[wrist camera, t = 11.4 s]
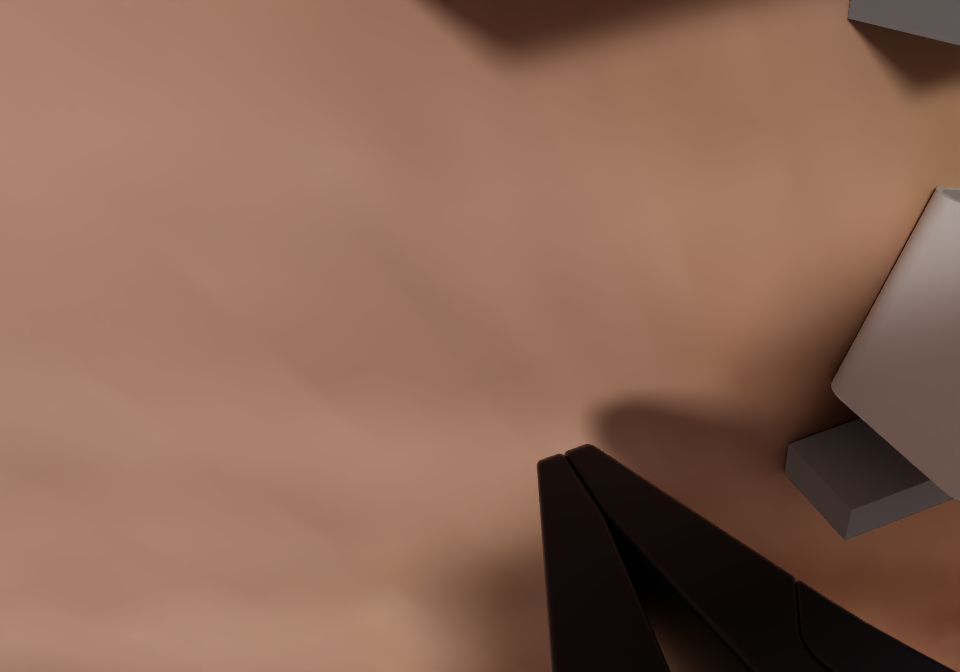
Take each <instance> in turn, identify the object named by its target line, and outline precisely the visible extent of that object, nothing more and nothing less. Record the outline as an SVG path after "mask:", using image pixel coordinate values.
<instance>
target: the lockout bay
mask: <svg viewBox="0 0 960 672" xmlns="http://www.w3.org/2000/svg"><path fill="white" fill-rule="evenodd" d="M848 19H852V20H857V21H861V22H865V23H869V24H873V25H877V26H881V27H885V28H890V29H894V30H898V31H902V32H906V33H910V34H914V35H918V36H923V37H927V38H931V39H935V40H939V41H943V42H947V43H952V44H956V45H960V0H850V7H849V14H848ZM785 475H786V476H787V477H788V478H789V479H790V480H791V481H792V483H793V484H794V485H795V486H796V487H797V488H798V489H799V490H800V491H801V493H802V494H803V495H804V496H805V497H806V498H807V499H808V500H809V501H810V503H811V504H812V505H813V506H814V507H815V508H816V509H817V510H818V511H819V512H820V514H821V515H822V516H823V517H824V518H825V519H826V520H827V521H828V522H829V524H830V525H831V526H832V527H833V528H834V529H835V530H836V531H837V532H838V534H839V535H840V536H841V537H842V538H843V539H844V540H847V539H849V538H852V537H854V536H857V535H860V534H862V533H865V532H867V531H870V530H873V529H875V528H878V527H880V526H883V525H886V524H888V523H891V522H893V521H896V520H899V519H901V518H904V517H906V516H909V515H912V514H914V513H917V512H919V511H922V510H924V509H927V508H930V507H932V506H935V505H937V504H940V503H943V502H945V501H948V500H950V499H953V498H952V497H951V496H949V495H948V494H947V493H945V492H944V491H943V490H941V489H940V488H939V487H938V486H937V485H936V484H935V483H934V482H932V481H931V480H930V479H929V478H928V477H927V476H926V475H925V474H923V473H922V472H921V471H920V470H919V469H918V468H917V467H915V466H914V465H913V464H912V463H911V462H910V461H909V460H908V459H906V458H905V457H904V456H903V455H902V454H901V453H900V452H899V451H897V450H896V449H895V448H894V447H893V446H892V445H891V444H889V443H888V442H887V441H886V440H885V439H884V438H883V437H882V436H880V435H879V434H878V433H877V432H876V431H875V430H874V429H873V428H871V427H870V426H869V425H868V424H867V423H866V422H865V421H863V420H862V419H861V418H859V419H856V420H854V421H851V422H848V423H845V424H843V425H840V426H837V427H834V428H832V429H829V430H826V431H823V432H820V433H818V434H815V435H812V436H809V437H807V438H804V439H801V440H798V441H796V442H793V443H790V444H789V445H788V452H787V459H786V466H785Z"/></svg>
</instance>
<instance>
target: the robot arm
mask: <svg viewBox="0 0 960 672" xmlns="http://www.w3.org/2000/svg"><path fill="white" fill-rule="evenodd" d="M537 474H538V488H539V502H540V516H541V529H542V543H543V557H544V571H545V585H546V598H547V612H548V626H549V640H550V653H551V667H552V672H956V671H954V670H952V669H950V668H949V667H947V666H945V665H943V664H941V663H939V662H937V661H935V660H934V659H932V658H930V657H928V656H926V655H924V654H922V653H920V652H919V651H917V650H915V649H913V648H911V647H909V646H908V645H906V644H904V643H902V642H900V641H899V640H897V639H895V638H893V637H891V636H890V635H888V634H886V633H884V632H882V631H881V630H879V629H877V628H875V627H874V626H872V625H870V624H868V623H866V622H865V621H863V620H862V619H860V618H858V617H857V616H855V615H853V614H852V613H850V612H849V611H847V610H845V609H844V608H842V607H841V606H839V605H837V604H836V603H834V602H833V601H831V600H829V599H828V598H826V597H825V596H823V595H822V594H820V593H818V592H817V591H815V590H814V589H812V588H811V587H809V586H808V585H806V584H805V583H803V582H802V581H799V580H798V581H796V583H795V578H794V576H792V575H791V574H789V573H788V572H786V571H785V570H783V569H782V568H780V567H779V566H777V565H775V564H774V563H772V562H771V561H769V560H768V559H766V558H765V557H763V556H762V555H760V554H759V553H757V552H756V551H754V550H753V549H751V548H749V547H748V546H746V545H745V544H743V543H742V542H740V541H739V540H737V539H736V538H734V537H733V536H731V535H730V534H728V533H727V532H725V531H723V530H722V529H720V528H719V527H717V526H716V525H714V524H713V523H711V522H710V521H708V520H707V519H705V518H704V517H702V516H701V515H699V514H698V513H696V512H694V511H693V510H691V509H690V508H688V507H687V506H685V505H684V504H682V503H681V502H679V501H678V500H676V499H675V498H673V497H672V496H670V495H668V494H667V493H665V492H664V491H662V490H661V489H659V488H658V487H656V486H655V485H653V484H652V483H650V482H649V481H647V480H646V479H644V478H642V477H641V476H639V475H638V474H636V473H635V472H633V471H632V470H630V469H629V468H627V467H626V466H624V465H623V464H621V463H620V462H618V461H617V460H615V459H613V458H612V457H610V456H609V455H607V454H606V453H604V452H603V451H601V450H600V449H598V448H597V447H595V446H593V445H591V444H585V445H582V446H579V447H577V448H574V449H571V450H568V451H567V452H565V454H564V455H563V454H556V455H554V456H551V457H548V458H545V459H542V460H540V461H539V462H538V463H537Z"/></svg>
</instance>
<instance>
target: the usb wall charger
mask: <svg viewBox="0 0 960 672" xmlns="http://www.w3.org/2000/svg"><path fill="white" fill-rule="evenodd" d="M831 388H832V391H833V392H834V394H835V395H836V396H837V397H838V398H839V399H840V400H841V401H842V402H843V403H844V404H845V405H847V406H848V407H849V408H850V409H851V410H852V411H853V412H854V413H856V414H857V415H858V416H859V417H860V418H861V419H862V420H863V421H865V422H866V423H867V424H868V425H869V426H870V427H871V428H873V429H874V430H875V431H876V432H877V433H878V434H879V435H880V436H882V437H883V438H884V439H885V440H886V441H887V442H888V443H889V444H891V445H892V446H893V447H894V448H895V449H896V450H897V451H899V452H900V453H901V454H902V455H903V456H904V457H905V458H906V459H908V460H909V461H910V462H911V463H912V464H913V465H914V466H915V467H917V468H918V469H919V470H920V471H921V472H922V473H923V474H925V475H926V476H927V477H928V478H929V479H930V480H931V481H932V482H934V483H935V484H936V485H937V486H938V487H939V488H940V489H941V490H943V491H944V492H945V493H947V494H948V495H949V496H951V497H952V498H954V499H955V500H957V501H959V502H960V188H949V187H937V188H936V190H935V192H934V193H933V195H932V197H931V199H930V201H929V203H928V205H927V206H926V208H925V210H924V212H923V214H922V216H921V217H920V219H919V221H918V223H917V225H916V227H915V229H914V230H913V232H912V234H911V236H910V238H909V240H908V242H907V243H906V245H905V247H904V249H903V251H902V253H901V255H900V256H899V258H898V260H897V262H896V264H895V266H894V268H893V269H892V271H891V273H890V275H889V277H888V279H887V281H886V282H885V284H884V286H883V288H882V290H881V292H880V294H879V295H878V297H877V299H876V301H875V303H874V305H873V306H872V308H871V310H870V312H869V314H868V316H867V318H866V319H865V321H864V323H863V325H862V327H861V329H860V331H859V332H858V334H857V336H856V338H855V340H854V342H853V344H852V345H851V347H850V349H849V351H848V353H847V355H846V357H845V358H844V360H843V362H842V364H841V366H840V368H839V370H838V371H837V373H836V375H835V377H834V379H833V381H832V383H831Z"/></svg>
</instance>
